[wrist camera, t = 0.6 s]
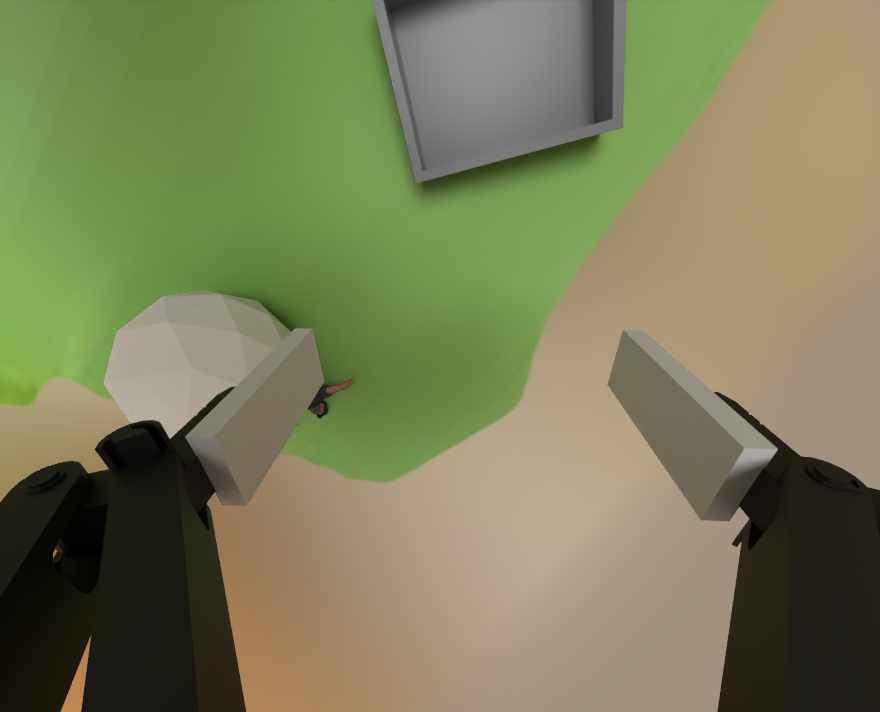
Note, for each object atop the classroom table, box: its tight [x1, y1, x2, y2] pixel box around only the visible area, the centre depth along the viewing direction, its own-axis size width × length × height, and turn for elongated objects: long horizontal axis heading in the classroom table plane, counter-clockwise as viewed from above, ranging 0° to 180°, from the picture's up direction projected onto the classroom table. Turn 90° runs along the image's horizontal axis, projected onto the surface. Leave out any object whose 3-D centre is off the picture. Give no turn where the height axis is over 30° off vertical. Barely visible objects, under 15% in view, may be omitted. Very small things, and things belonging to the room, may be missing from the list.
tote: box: [372, 0, 626, 183], centre depth 27 cm, size 18×14×5 cm
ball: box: [103, 290, 353, 438], centre depth 38 cm, size 17×25×24 cm
